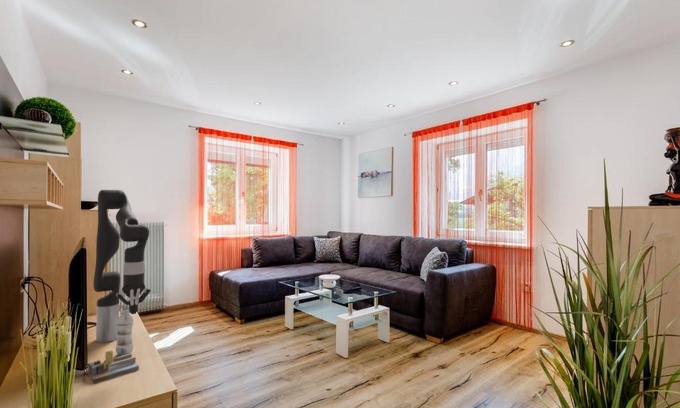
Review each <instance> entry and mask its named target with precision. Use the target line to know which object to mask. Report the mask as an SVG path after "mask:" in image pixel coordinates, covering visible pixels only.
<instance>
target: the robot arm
mask: <svg viewBox="0 0 680 408" xmlns="http://www.w3.org/2000/svg"><path fill="white" fill-rule="evenodd" d="M131 207H132V206H131V204H130V202H129V198H128V195H127V194H126V192H125V191H123V190H121V189H101V190H99V192H98V195H97V233H96V242H95V243H96V244H95V249H96V250H95V254H96V255H95V256H96V257H95V267H94V276H93V290H94V291H95V292H96V293H102V292H109V293H108V294H106V295H104V296H103V297H100V298H99V299H97V301H96V323H95V324H96V329H95V330H96V332H95V341H96V343H100V344H104V343H108V342H112V341H113V342H114V341H115V340H116V341H117V339H118V333H117V325H116V322H117V319H118V318H119V317H120V301H121V302H122V303H123V304H124V305H126V306H128V308H129V312H130V313H129V314H130V315H135V314H137V313H138V308H139V304H140V303H143V302H144V301H145V299H146V298H147V296H148V295H149V294H150V293H151V289H150V288H148V287H146V285H145V249H146V245H147V242H148V239H149V236H150V229H149V226H147V225H146V224H139V221H138V219H137V218H136V216H135V214H134V213H133V211H132V208H131ZM108 210H117V212H116V214H115V220H116V223H117V224H118V226H119V230H120V231H118V229H117V228H116V226H115V225H114V224H113V222H112V221H111V220H110V218H109V215H108ZM120 240H122V241H123V242H126V243H133V242H137V243H136V244H135V245H133V246H131V247H127V248H125V250H124V260H123V261H124V264H123V271H122V273H123V276H122V277H123V279H122V281H123V283H122V284H123V285H122V288H121V273H120V272H119V271H115V270H114V271H108V272H107V271H106V272H104V270H105V268H106V266H107V264H108V263H109V262H110V260H111V259H112V258H113V257H114V256H115V255H116V254H117V252H118V250H119V249H120ZM120 289H121V290H120ZM125 296H126V297H127V299H126V298H125Z"/></svg>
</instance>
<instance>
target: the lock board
mask: <svg viewBox="0 0 680 408" xmlns="http://www.w3.org/2000/svg"><path fill="white" fill-rule="evenodd" d="M113 361H114V363H111V364H108V367H107V369H106V370H104V364H101V365H97V372H96V366H95V365H96V364H99V363H102V361H101V360H100V359H98V360H96V361H93V362H92V361H91V362H89V363H88V366H87V367H88V368H87V369H86V372H87V374H88V375H87V374H86V375H87V377H88V378H89V377H90V378H89V379H90V380H91V382H92V383H93V384H97V383H100V382H104V381H107V380H109V379H112V378H116V377H118V376H122V375H125V374H128V373H133V372H135V371H138V370H139V369H140V365H139V364H138V363H137V362H136V356H133V355H132V352H131V353H130V354H126V355H122V356H120V355H118V356H115V357H113ZM103 362H105V360H103ZM86 372H85V373H86Z"/></svg>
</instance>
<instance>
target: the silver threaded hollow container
mask: <svg viewBox="0 0 680 408" xmlns="http://www.w3.org/2000/svg"><path fill="white" fill-rule="evenodd" d="M133 324H134V318H133V316H132V314H131V313H130V312H129V307H124V308H120V309H119V318H118V319H117V322H116V325H117V333H118V339H116V341H117V342H116V347H115V353H116V355H118V356H123V355H126V354H130V353H131V354H132V352H133V350H134V344H133V336H132V335H133V326H134V325H133Z"/></svg>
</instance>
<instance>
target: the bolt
mask: <svg viewBox="0 0 680 408" xmlns="http://www.w3.org/2000/svg"><path fill="white" fill-rule="evenodd" d="M113 358H114V352H113V351H112V350H109V351H105V359H104V361H105V362H104V361H103V362H100V363H99V364H96V365H95V366H96V372H97V365H101V364H104V370H106V369H107V367H108V364H111V363H114V361H113Z"/></svg>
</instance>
